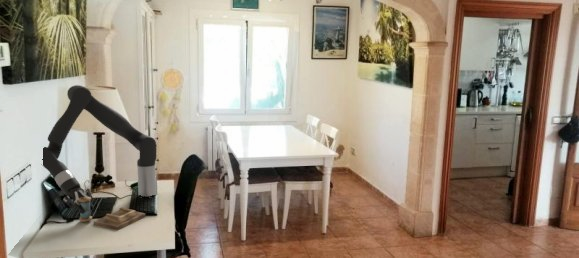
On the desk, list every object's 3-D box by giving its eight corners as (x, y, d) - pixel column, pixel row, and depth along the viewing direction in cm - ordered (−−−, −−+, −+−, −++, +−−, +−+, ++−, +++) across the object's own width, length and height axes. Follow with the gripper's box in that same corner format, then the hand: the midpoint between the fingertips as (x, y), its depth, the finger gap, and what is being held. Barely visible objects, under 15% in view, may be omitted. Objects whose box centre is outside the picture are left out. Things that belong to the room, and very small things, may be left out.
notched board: (122, 211, 221) (122, 203, 220) (145, 216, 215) (145, 208, 215) (93, 224, 204) (93, 216, 204) (117, 230, 199) (117, 221, 198)
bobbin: (86, 216, 211) (84, 195, 209) (94, 218, 209) (93, 197, 207) (76, 220, 206) (75, 199, 204) (85, 222, 204) (84, 201, 202)
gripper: (57, 181, 200) (79, 211, 198) (83, 173, 213) (104, 201, 211) (50, 191, 203) (71, 221, 201) (76, 182, 216) (96, 210, 214)
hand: (88, 210), depth 206 cm, fingers closed on bobbin, 4 cm apart
